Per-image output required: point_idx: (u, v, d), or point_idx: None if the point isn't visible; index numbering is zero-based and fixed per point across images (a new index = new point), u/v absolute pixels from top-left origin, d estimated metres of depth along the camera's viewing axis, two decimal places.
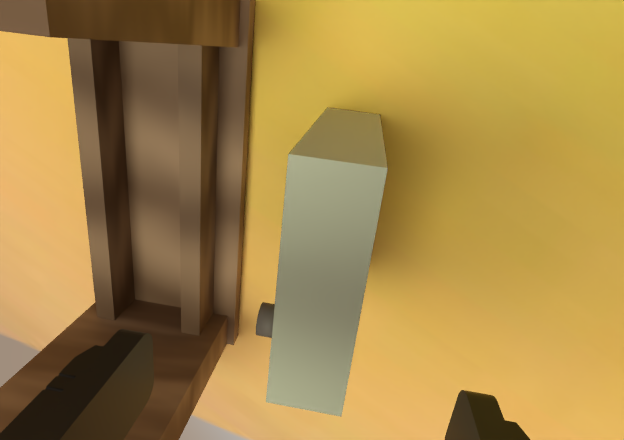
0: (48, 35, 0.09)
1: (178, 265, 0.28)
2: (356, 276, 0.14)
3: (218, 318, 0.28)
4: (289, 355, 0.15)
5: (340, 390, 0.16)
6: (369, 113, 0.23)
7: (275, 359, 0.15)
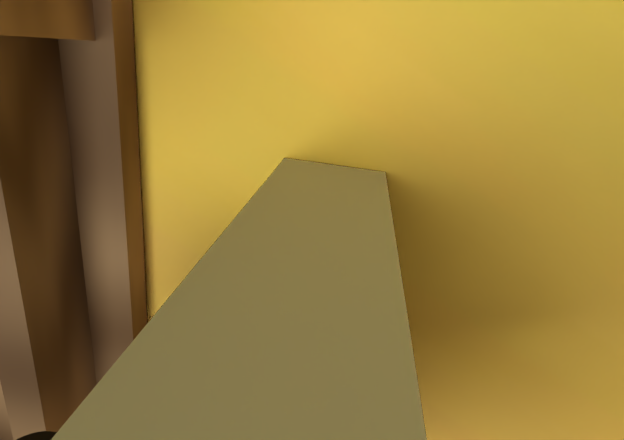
0: None
1: None
2: None
3: None
4: None
5: None
6: (365, 171, 0.12)
7: None
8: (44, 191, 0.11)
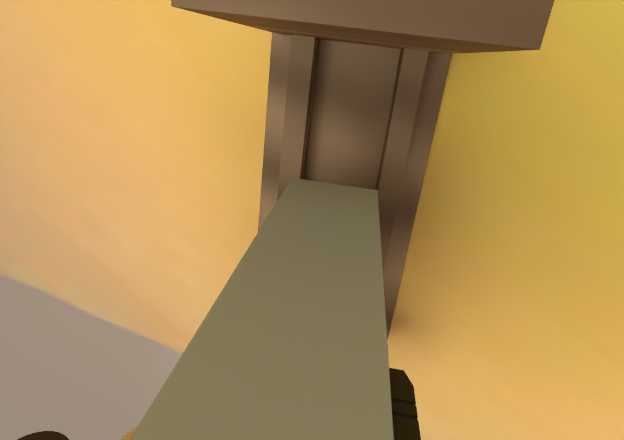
0: (537, 48, 0.10)
1: None
2: None
3: None
4: None
5: None
6: (360, 189, 0.14)
7: None
8: None
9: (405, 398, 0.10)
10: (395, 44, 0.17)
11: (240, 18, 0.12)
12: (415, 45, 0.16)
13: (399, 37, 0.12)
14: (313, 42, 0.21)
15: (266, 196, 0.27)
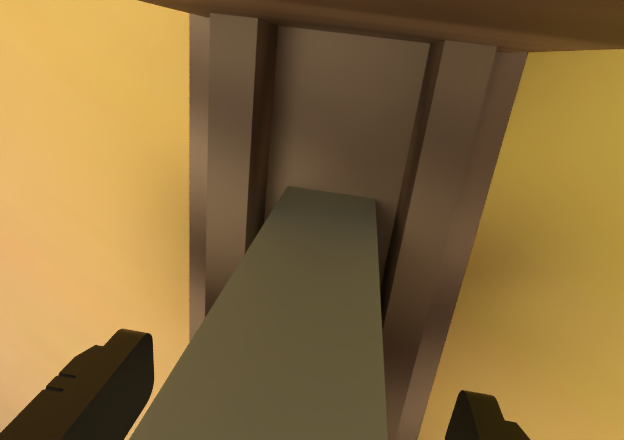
0: None
1: None
2: None
3: None
4: None
5: None
6: (357, 198, 0.14)
7: None
8: None
9: None
10: (441, 27, 0.07)
11: None
12: (517, 24, 0.05)
13: None
14: (255, 29, 0.10)
15: (199, 292, 0.16)
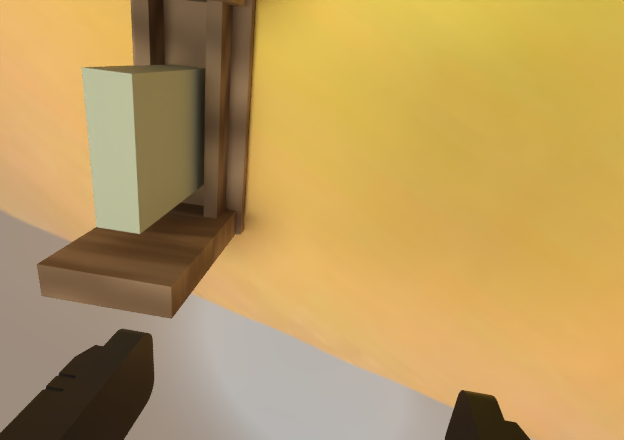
0: None
1: None
2: (129, 139, 0.25)
3: (229, 211, 0.39)
4: (103, 193, 0.26)
5: (135, 215, 0.27)
6: None
7: (96, 196, 0.27)
8: (226, 58, 0.33)
9: None
10: None
11: None
12: None
13: None
14: None
15: None
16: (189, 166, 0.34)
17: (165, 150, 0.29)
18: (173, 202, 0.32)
